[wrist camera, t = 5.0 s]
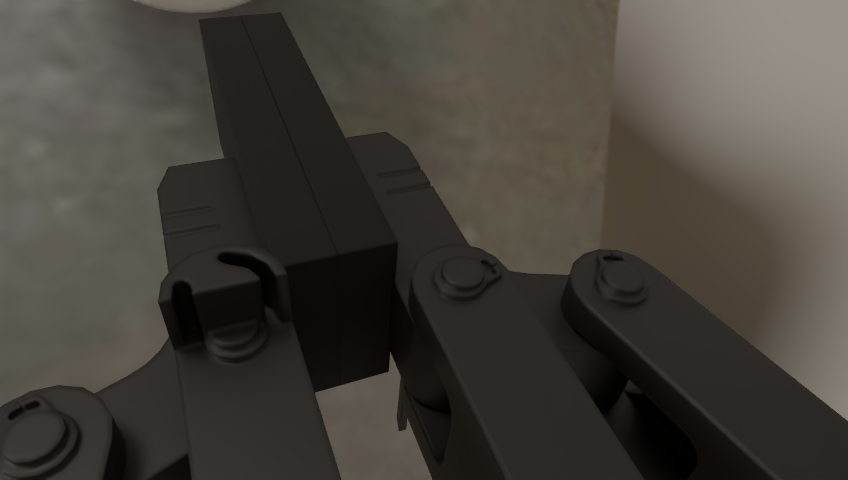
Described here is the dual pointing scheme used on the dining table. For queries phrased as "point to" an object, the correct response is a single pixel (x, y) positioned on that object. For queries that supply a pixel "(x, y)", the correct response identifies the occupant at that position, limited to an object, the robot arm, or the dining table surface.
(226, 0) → the trinket box
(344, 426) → the dining table surface
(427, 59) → the dining table surface
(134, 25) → the dining table surface
